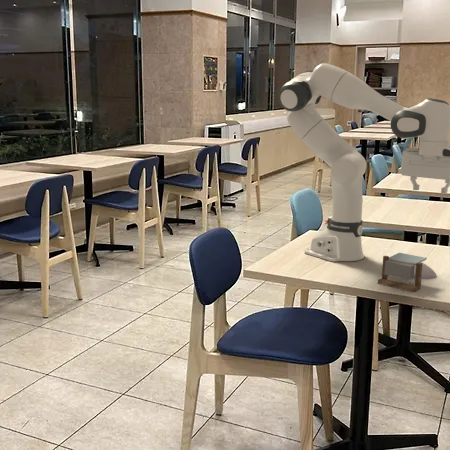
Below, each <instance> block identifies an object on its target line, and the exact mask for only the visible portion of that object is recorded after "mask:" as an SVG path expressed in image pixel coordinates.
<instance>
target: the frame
mask: <svg viewBox="0 0 450 450" xmlns="http://www.w3.org/2000/svg"><path fill="white" fill-rule="evenodd" d="M389 257H390V256H388V255H384V256H383V257H382V270H381V278H379V279H377V284H379V285H383V286H386V285H387V287H390V288H395V287H396V288H395V289H400V290H404V291H408V292H412V293H416V292H417V291H419V290H421V285H422V279H421V275H422V264H423V262H421V263H419V262H418V263H416V274H415V277H414V284H410V283H405V282H401V281H396V280H392V279H388V276H389V275H384V273H385V261H387V260H388V258H389Z"/></svg>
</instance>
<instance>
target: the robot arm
mask: <svg viewBox="0 0 450 450" xmlns="http://www.w3.org/2000/svg"><path fill="white" fill-rule="evenodd" d="M277 96H278V98H277V99H278V102H279V104H280V106H281V107H282V108H283V109H284V110H286V111H287V112H288V113H287V117H286V119H287V123H288V124H289V126H290V127H291V130H293V132H294V134H296V135H297V137H298V138H299V139H300V140H301V141H302V142H303V143H304V144H305V145H306V146H307V147H308V149H309V150H310V151H311V152H312V153H313V154H314V155H315V156H316V157H318V158H319V159H320V160H322V161H323V162H324V163H325V164H327V165H328V166H329V167H330V178H331V179H330V183H331V185H330V187H331V197H332V198H331V200H332V201H331V216H330V217H331V218H328V219H327V220H325V221H324V225H327V226H326V228H324V229H323V230H320V231H319V232H318V233H317V234H315V235H314V236H313V237H312V239H311V241H310V246H308V247H306V248H304V254H306V255H310V256H313V257H316V258H320V259H323V260H326V261H329V262H333V263H335V262H355V261H356V262H357V261H360V260H362V259H364V258H365V256H364V255H365V254H364V251H363V246H362V234H363V227H364V226H363V223H364V221H363V219H362V216H363V202H364V199H363V176H364V174H365V173H366V170H367V160H366V159H365V157H364V156H363V155H362V154H361V153H360V152H359V151H358V150H357V149H356V148H355V147H354V146H353V145H351V143H349V142H348V141H347V140H346V139H344V138H343V137H342V136H341V135H340V134H339V133H338V132H337V131H336V130H335V129H334V128H333V127H332V126H331V125H330V124H329V123H328V121H327V120H325V118H323V117H322V115H321V114H320V113H319V112H318V111H317V109H316V105H317V104H319V103H320V101H321V98H322V97H324V98H326V99H328V100H329V101H331V102H333V103H334V104H337V105H339V106H341V107H344V108H347V109H350V110H352V109H353V110H364V111H369V112H373V113H375V114H377V115H379V116H381V117H383V118H384V119H386V120H387V121H390V130H391V132H392V133H393V134H394V136H396V137H398V138H400V139H411V138H418V137H419V144H418V145H419V146H418V148H411V147H407V148H406V149H404V150H402V154H401V158H402V161H401V166H400V175H402V176H405V177H410V179H409V180H410V182H411V184H412V185H413V186H412V190H413V191H419V190H420V184H418V182H417V179H418V178H424V179H434V180H442V181H443V180H444V181H445V185H444V187H441V190H440V194H447V193H448V189H449V187H450V144H449V130H450V104H449V103H448V101H446V100H443V99H439V98H430V97H429V98H426V99H424V100H423V101H422V102H420V103H419V102H418V104H415V105H413V106H405V105H402V104H401V103H398V102H396V101H394V100H392V99H390V98H388V97H386V96H384V95H383V94H381V93H379V92H378V91H377V90H375V89H373V88H372V87H371V86H370V85H368V84H367V83H366V82H365V81H363V80H362V79H361V78H359V77H358V76H356V75H355V74H353V73H351V72H349V71H348V70H345V69H343V68H341V67H339V66H336V65H333V64H330V63H328V62H327V63H326V62H322V63H320V64H318V65H317V66H315V67H314V68H313V70H312V69H311V70H306V71H304V72H302V73H299V74H297V75H296V76H294V77H293V78H292V79H291V80H289V81H287V82H286V83H284V84H283V85H282V87H281V88H280V89H279V92H278V95H277Z"/></svg>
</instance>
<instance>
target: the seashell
mask: <svg viewBox="0 0 450 450" xmlns="http://www.w3.org/2000/svg"><path fill="white" fill-rule="evenodd" d="M422 263H423V262H422ZM415 274H416V265H414V277H413V278H415ZM436 277H437V273H436V272H435V270H434V269H433V268H432V267H430V266H429V265H427V264H426V263H423V264H422V275H421V280H422V279H423V280H425V279H426V280H430V279H434V278H436Z"/></svg>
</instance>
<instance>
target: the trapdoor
mask: <svg viewBox="0 0 450 450" xmlns="http://www.w3.org/2000/svg"><path fill="white" fill-rule="evenodd" d="M426 260H427V257H423V256H418V255H414V254H408V253H403V252H397V253H396V254H393V255H391V256H389V258H388V260H387V261H385V273H384V275H388V276H390V277H394V278H398V279H403V280H407V281H411V280H412V279H414V278H415V277H414V265H416V263H418V262H419V263H423V262H424V261H426Z"/></svg>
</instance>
